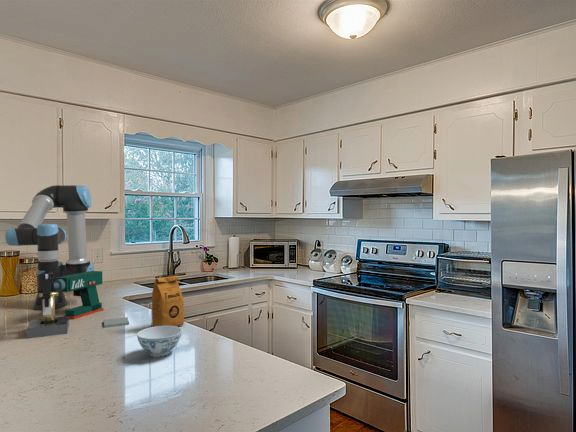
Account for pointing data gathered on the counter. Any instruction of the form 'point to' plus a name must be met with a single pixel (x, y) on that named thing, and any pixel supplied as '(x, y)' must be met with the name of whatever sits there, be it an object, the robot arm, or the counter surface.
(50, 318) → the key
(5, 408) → the counter surface
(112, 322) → the pad
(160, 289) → the coffee package
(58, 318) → the chuck block
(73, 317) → the power tool
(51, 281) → the robot arm
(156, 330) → the chinaware
